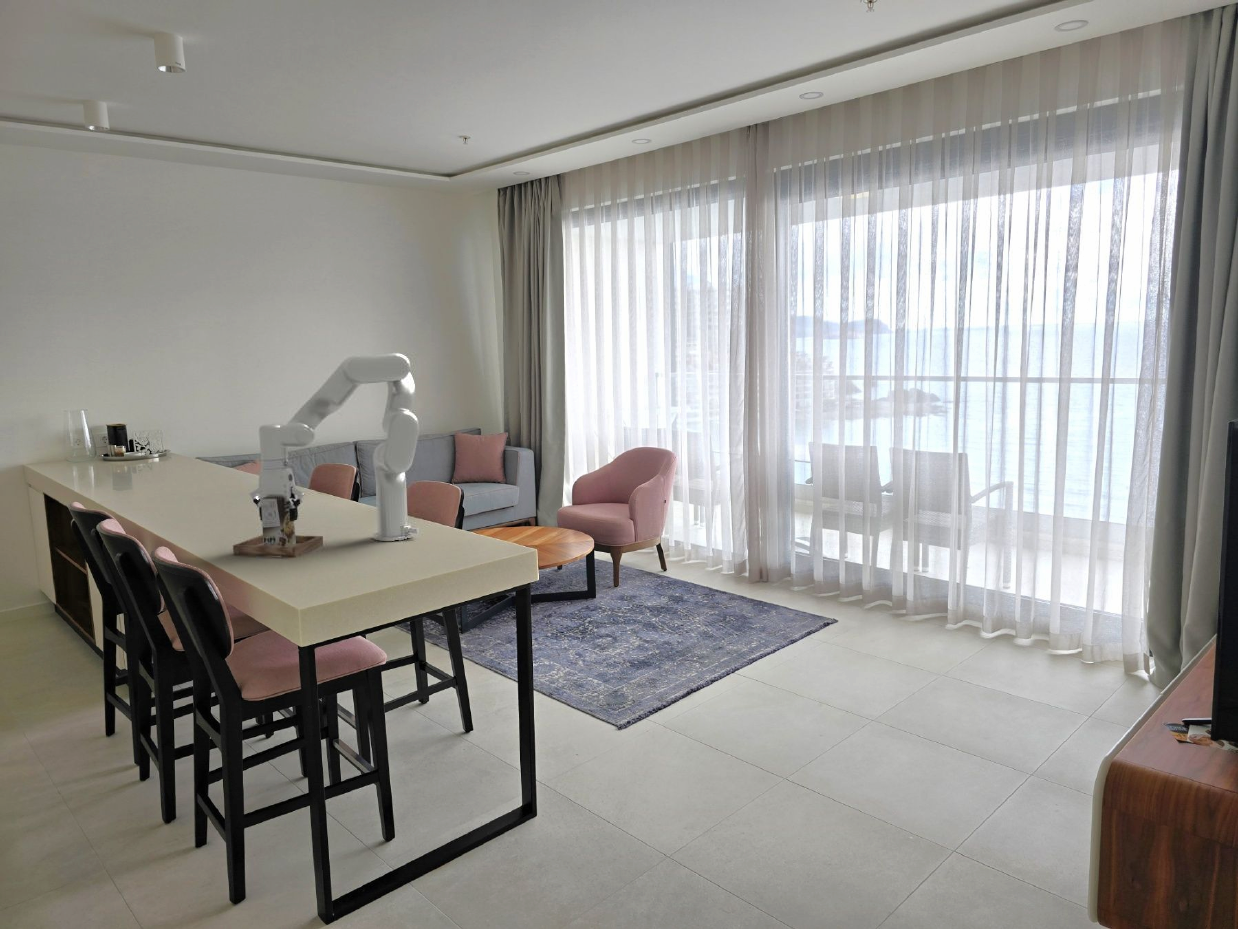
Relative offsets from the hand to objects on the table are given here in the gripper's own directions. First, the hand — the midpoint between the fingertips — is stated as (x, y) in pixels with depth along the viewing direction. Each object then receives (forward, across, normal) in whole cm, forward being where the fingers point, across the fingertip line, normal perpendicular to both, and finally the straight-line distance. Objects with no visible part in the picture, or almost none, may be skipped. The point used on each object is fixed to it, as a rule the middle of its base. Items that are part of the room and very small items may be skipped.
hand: (279, 520), depth 249 cm
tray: (+9, 0, 0) cm, 9 cm away
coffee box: (+9, 0, 0) cm, 9 cm away
